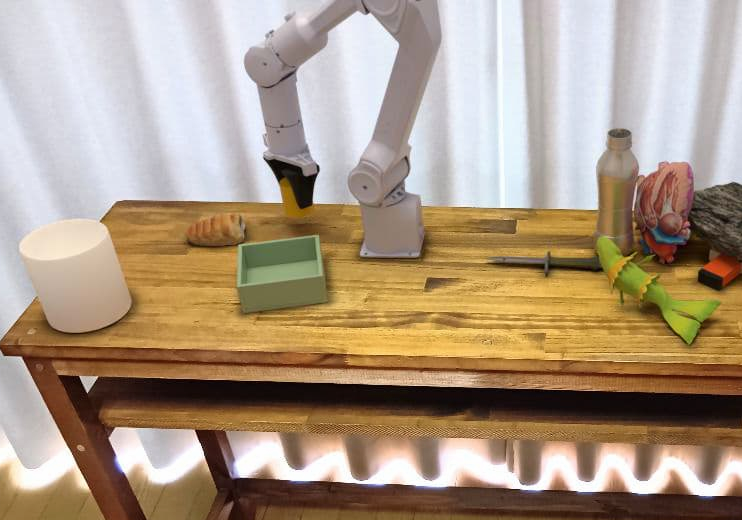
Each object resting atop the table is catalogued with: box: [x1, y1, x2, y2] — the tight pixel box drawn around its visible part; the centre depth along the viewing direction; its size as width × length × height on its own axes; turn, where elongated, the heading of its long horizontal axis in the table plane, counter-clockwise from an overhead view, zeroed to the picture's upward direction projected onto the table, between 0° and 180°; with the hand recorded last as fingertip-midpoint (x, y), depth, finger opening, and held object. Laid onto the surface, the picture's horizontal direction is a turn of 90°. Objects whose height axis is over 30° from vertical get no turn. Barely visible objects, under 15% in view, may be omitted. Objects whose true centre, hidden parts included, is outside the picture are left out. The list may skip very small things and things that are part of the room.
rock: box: [687, 181, 742, 260], centre depth 136 cm, size 12×16×6 cm
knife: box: [483, 250, 603, 275], centre depth 139 cm, size 19×2×5 cm
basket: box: [236, 234, 329, 314], centre depth 136 cm, size 12×12×5 cm
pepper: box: [278, 177, 315, 219], centre depth 146 cm, size 5×5×7 cm
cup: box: [18, 218, 133, 334], centre depth 129 cm, size 12×12×12 cm
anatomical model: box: [633, 160, 695, 265], centre depth 137 cm, size 11×6×15 cm
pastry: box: [184, 211, 246, 247], centre depth 147 cm, size 9×7×4 cm
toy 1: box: [597, 236, 723, 346], centre depth 128 cm, size 8×20×8 cm, turn 49°
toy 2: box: [697, 247, 742, 291], centre depth 137 cm, size 8×4×15 cm
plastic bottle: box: [592, 127, 640, 258], centre depth 136 cm, size 6×7×20 cm
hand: (298, 200), depth 147 cm, fingers closed on pepper, 5 cm apart
